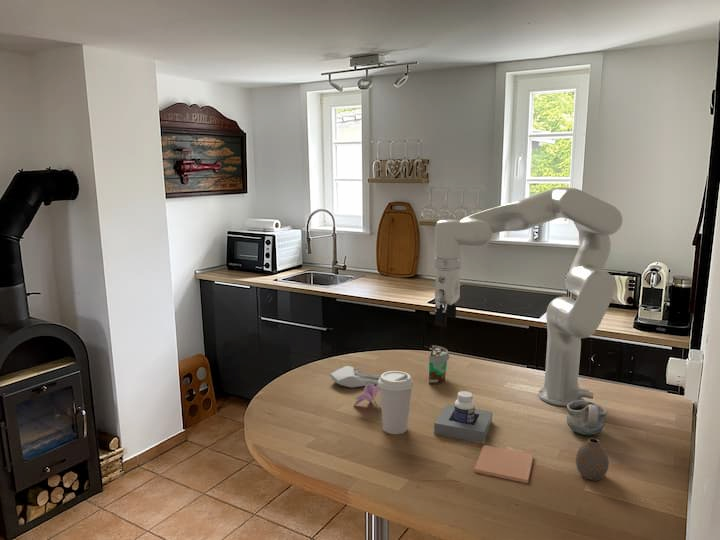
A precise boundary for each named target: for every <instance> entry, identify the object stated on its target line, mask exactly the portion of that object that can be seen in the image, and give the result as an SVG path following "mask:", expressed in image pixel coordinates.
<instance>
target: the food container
mask: <svg viewBox="0 0 720 540" xmlns="http://www.w3.org/2000/svg"><path fill="white" fill-rule="evenodd" d="M428 359H429V360H428V365H429V366H428V385H431V386H432V385H439V384H440V385H441V384H443V383H445V380H446V375H447V374H446V373H447V365H448V364H447V363H448V360H450V354H449V351H448V349H447V348H445V347H443V346H439V345H431V352H430V356H429V357H428Z"/></svg>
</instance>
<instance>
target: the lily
mask: <svg viewBox="0 0 720 540" xmlns="http://www.w3.org/2000/svg"><path fill="white" fill-rule="evenodd" d="M378 392H380V386H379V385H373V384H371V383H368V384H367V385H366V386H364V388H363V393H362V394H360V395H358V396H356V398H354V400H356V402H355V403H354V404H353V407H355V406H357V405H358V404H360V403H361V402H364V401H366V402H370V403H372V401H373V402H374V404H375V405H376V408H377V409H376V410H377V411H378V413H380V409H379V407H378V404H377V402H376V395H377V393H378Z"/></svg>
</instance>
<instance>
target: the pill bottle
mask: <svg viewBox="0 0 720 540" xmlns="http://www.w3.org/2000/svg"><path fill="white" fill-rule="evenodd" d="M473 396H474V395H473V393H472V392H470V391H466V390H465V391H464V390H463V391H458V392H457V398H456V400H455V401H454V405H455V406H454V422H460V423H465V424H471V425H475V424H474V412H475V409H476V405H475V404H476V403H475V402H474V400H473V398H474V397H473Z"/></svg>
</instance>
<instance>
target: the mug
mask: <svg viewBox="0 0 720 540" xmlns="http://www.w3.org/2000/svg"><path fill="white" fill-rule="evenodd" d="M566 409H567V411H568V412H567V416H566V424H567V427H569V429H571V430H572V431H573V432H575V433H577V434H579V435H583V436H593V435H597V434H599V433H601V431H602V430H603V429H604V427H605V421H606V420H605V416H606V415H607V410H606V409H605V407H603V406H602V405H600V404H598V403H595V402H592V401H589V400H583V399H582V400H578V401H573V402H571V403H569V404H567V406H566Z"/></svg>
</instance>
